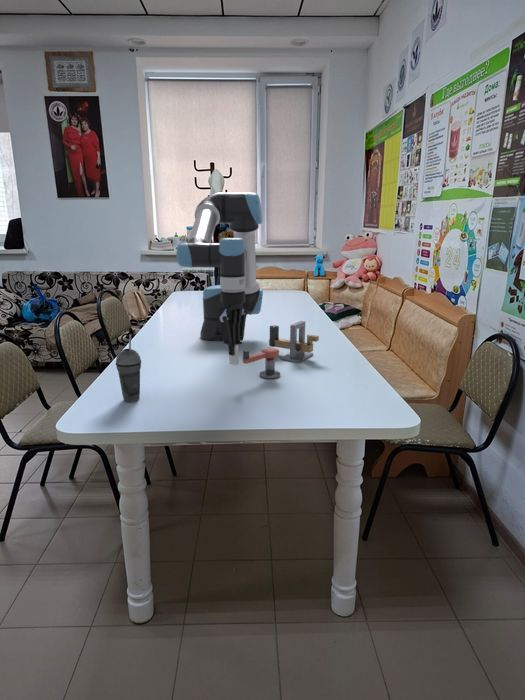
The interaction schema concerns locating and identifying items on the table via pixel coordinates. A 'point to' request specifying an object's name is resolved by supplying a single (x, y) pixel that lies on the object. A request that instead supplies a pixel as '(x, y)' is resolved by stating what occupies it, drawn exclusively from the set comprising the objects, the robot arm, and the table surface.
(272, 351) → the red joystick lever
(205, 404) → the table surface
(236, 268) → the robot arm
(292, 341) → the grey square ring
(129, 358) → the beverage cup
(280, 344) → the hook bar
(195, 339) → the table surface
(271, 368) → the dark grey metal pedestal
